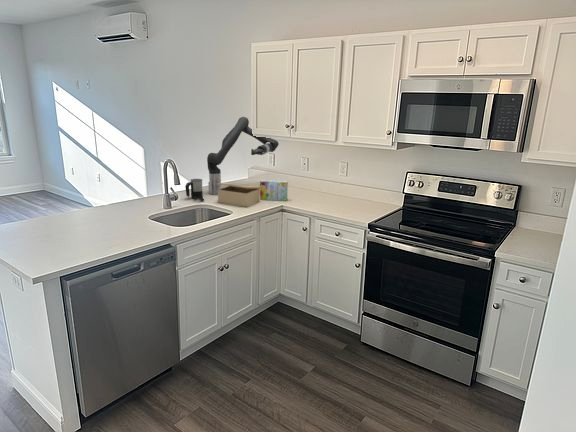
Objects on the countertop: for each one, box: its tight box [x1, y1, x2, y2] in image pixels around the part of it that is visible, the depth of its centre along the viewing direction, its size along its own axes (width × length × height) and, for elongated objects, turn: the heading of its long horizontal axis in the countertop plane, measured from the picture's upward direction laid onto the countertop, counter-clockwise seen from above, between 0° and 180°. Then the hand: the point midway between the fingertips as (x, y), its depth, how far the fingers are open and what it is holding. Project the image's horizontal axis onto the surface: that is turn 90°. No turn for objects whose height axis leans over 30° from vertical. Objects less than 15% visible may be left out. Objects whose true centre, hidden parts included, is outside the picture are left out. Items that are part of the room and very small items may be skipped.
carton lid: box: [217, 182, 260, 189], centre depth 294 cm, size 26×20×1 cm
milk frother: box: [184, 178, 205, 202], centre depth 300 cm, size 14×16×15 cm
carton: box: [217, 186, 260, 208], centre depth 296 cm, size 25×19×10 cm
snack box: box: [259, 179, 289, 202], centre depth 305 cm, size 21×6×15 cm, turn 84°
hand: (252, 153), depth 308 cm, fingers closed
